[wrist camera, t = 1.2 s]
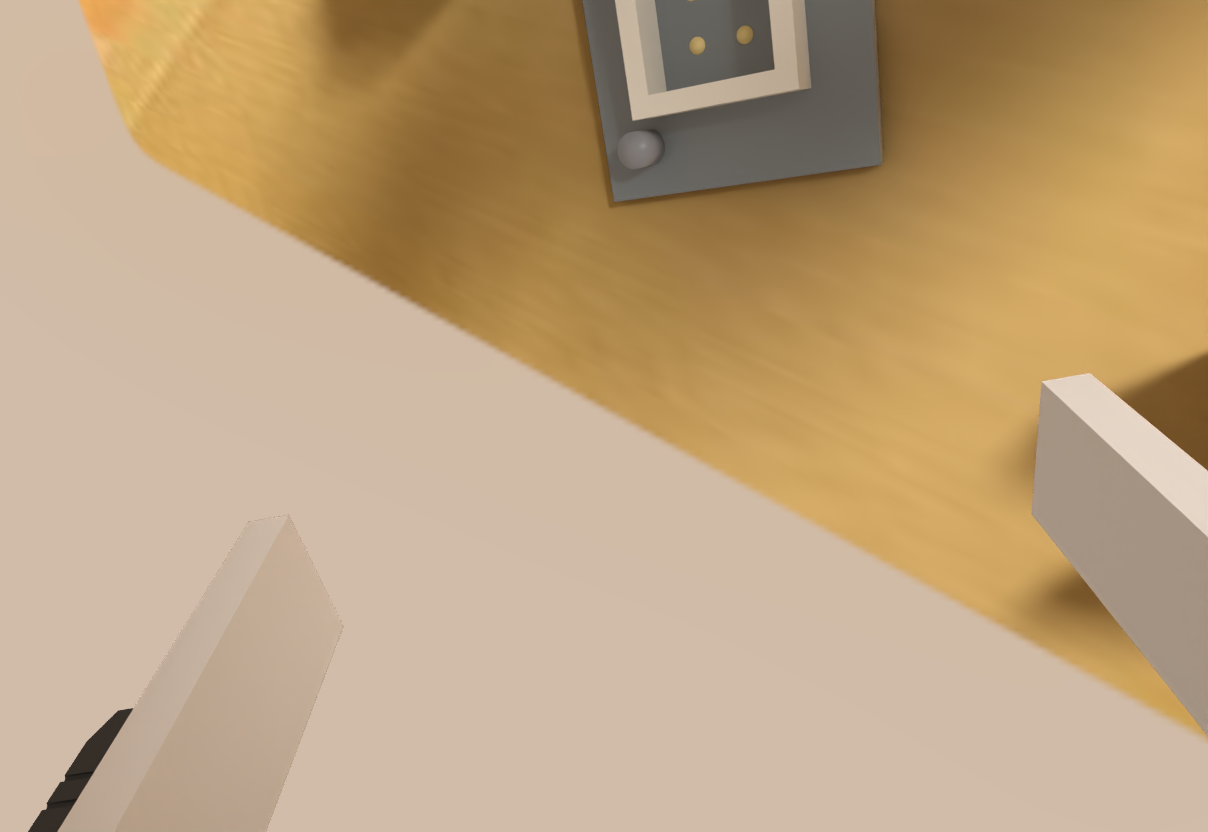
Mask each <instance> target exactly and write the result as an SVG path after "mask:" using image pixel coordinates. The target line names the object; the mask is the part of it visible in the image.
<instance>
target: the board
mask: <svg viewBox="0 0 1208 832" xmlns="http://www.w3.org/2000/svg"><path fill="white" fill-rule="evenodd" d="M582 1H583V8H584V14H585V20H586V27H587V33H588V39H589V46H590V52H591V58H592V65H593V71H594V77H595V84H596V90H597V96H598V103H599V109H600V116H601V122H602V128H603V135H604V141H605V147H606V154H607V160H608V166H609V173H610V179H611V185H612V192H613V198H614V202H618V201H625V200H633V199H640V198H647V197H654V196H661V195H668V194H676V193H683V192H690V191H697V190H704V189H711V188H719V187H726V186H733V185H740V184H747V183H754V182H762V181H769V180H776V179H783V178H790V177H797V176H804V175H812V174H819V173H826V172H833V171H840V170H847V169H855V168H862V167H869V166H876V165H881V164H883V163H884V159H883V140H882V122H881V103H880V84H879V66H878V47H877V28H876V9H875V0H582Z"/></svg>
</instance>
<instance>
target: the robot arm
mask: <svg viewBox="0 0 1208 832" xmlns="http://www.w3.org/2000/svg"><path fill="white" fill-rule="evenodd" d="M1032 515H1033V517H1034V518H1035V519H1036V520H1037V522H1038V523H1039V524H1040V525H1041V527H1042V528H1043V529H1044V530H1045V532H1046V533H1047V534H1048V535H1049V537H1050V538H1051V539H1052V541H1053V542H1054V543H1055V544H1056V546H1057V547H1058V548H1059V549H1060V551H1061V552H1062V553H1063V554H1064V556H1065V557H1066V558H1067V559H1068V561H1069V562H1070V563H1071V564H1072V566H1073V567H1074V568H1075V570H1076V571H1077V572H1078V573H1079V575H1080V576H1081V577H1082V578H1083V580H1084V581H1085V582H1086V583H1087V585H1088V586H1089V587H1090V588H1091V590H1092V591H1093V592H1094V593H1095V595H1096V596H1097V597H1098V598H1099V600H1100V601H1101V602H1102V604H1103V605H1104V606H1105V607H1106V609H1107V610H1108V611H1109V612H1110V614H1111V615H1112V616H1113V617H1114V619H1115V620H1116V621H1117V622H1118V624H1119V625H1120V626H1121V627H1122V629H1123V630H1124V631H1125V633H1126V634H1127V635H1128V636H1129V638H1130V639H1131V640H1132V641H1133V643H1134V644H1135V645H1136V646H1137V648H1138V649H1139V650H1140V651H1141V653H1142V654H1143V655H1144V656H1145V658H1146V659H1147V660H1148V661H1149V663H1150V664H1151V665H1152V667H1153V668H1154V669H1155V670H1156V672H1157V673H1158V674H1159V675H1160V677H1161V678H1162V679H1163V680H1164V682H1165V683H1166V684H1167V685H1168V687H1169V688H1170V689H1171V690H1172V692H1173V693H1174V694H1175V695H1176V697H1177V698H1178V699H1179V701H1180V702H1181V703H1182V704H1183V706H1184V707H1185V708H1186V709H1187V711H1188V712H1189V713H1190V714H1191V716H1192V717H1193V718H1194V719H1195V721H1196V722H1197V723H1198V724H1199V726H1200V727H1201V728H1202V730H1203V731H1204V732H1205V733H1206V735H1207V736H1208V471H1207V470H1206V469H1205V468H1204V467H1202V466H1201V465H1200V464H1199V463H1198V462H1196V461H1195V460H1194V459H1193V458H1192V457H1190V456H1189V455H1188V454H1187V453H1186V452H1184V451H1183V450H1182V449H1181V448H1180V447H1178V446H1177V445H1176V444H1175V443H1173V442H1172V441H1171V440H1170V439H1169V438H1167V437H1166V436H1165V435H1164V434H1163V433H1161V432H1160V431H1159V430H1158V429H1157V428H1155V427H1154V426H1153V425H1152V424H1151V423H1149V422H1148V421H1147V420H1146V419H1144V418H1143V417H1142V416H1141V415H1140V414H1138V413H1137V412H1136V411H1135V410H1134V409H1132V408H1131V407H1130V406H1129V405H1128V404H1126V403H1125V402H1124V401H1123V400H1122V399H1120V398H1119V397H1118V396H1117V395H1116V394H1114V393H1113V392H1112V391H1111V390H1109V389H1108V388H1107V387H1106V386H1105V385H1103V384H1102V383H1101V382H1100V381H1099V380H1097V379H1096V378H1095V377H1094V376H1093V375H1091V374H1090V373H1087V374H1082V375H1076V376H1070V377H1065V378H1059V379H1053V380H1048V381H1042V384H1041V397H1040V410H1039V423H1038V436H1037V449H1036V462H1035V476H1034V489H1033V502H1032ZM342 629H343V624H342V622H341V620H340V618H339V616H338V614H337V612H336V610H335V608H334V606H333V604H332V602H331V600H330V598H329V595H328V593H327V592H326V589H325V587H324V585H323V583H322V581H321V579H320V577H319V575H318V573H317V571H316V569H315V567H314V565H313V563H312V561H311V559H310V557H309V555H308V553H307V551H306V549H305V547H304V545H303V543H302V540H301V538H300V536H299V534H298V532H297V530H296V528H295V526H294V524H293V522H292V520H291V518H290V516H289V515H284V516H278V517H273V518H267V519H261V520H256V521H250V522H248V524H247V525H246V527H245V528H244V530H243V532H242V533H241V535H240V537H239V538H238V540H237V541H236V543H235V545H234V546H233V548H232V549H231V551H230V553H229V554H228V556H227V558H226V559H225V561H224V562H223V564H222V566H221V567H220V569H219V571H218V572H217V574H216V576H215V577H214V579H213V580H212V582H211V584H210V585H209V587H208V588H207V590H206V592H205V593H204V595H203V597H202V598H201V600H200V601H199V603H198V605H197V606H196V608H195V610H194V611H193V613H192V614H191V616H190V618H189V619H188V621H187V622H186V624H185V626H184V627H183V629H182V631H181V632H180V634H179V636H178V637H177V639H176V640H175V642H174V644H173V645H172V647H171V649H170V650H169V652H168V654H167V655H166V657H165V658H164V660H163V661H162V663H161V665H160V666H159V668H158V670H157V671H156V673H155V674H154V676H153V678H152V679H151V681H150V683H149V684H148V686H147V688H146V689H145V691H144V692H143V694H142V696H141V697H140V699H139V700H138V702H137V704H136V705H135V707H134V708H132V709H126V710H120V711H117V712H116V713H115V714H114V715H113V717H111V718H110V719H109V720H108V721H107V722H106V723H105V724H104V725H103V726H102V727H101V728H100V729H99V730H98V731H97V732H96V733H95V734H94V735H93V736H92V737H91V738H90V739H89V740H88V741H87V742H86V744H85V745H84V747H83V748H82V750H81V751H80V753H79V754H78V756H77V757H76V759H75V760H74V762H73V763H72V765H71V767H70V768H69V770H68V771H67V773H66V774H65V781H64V782H60V783H59V785H58V787H57V788H56V790H55V791H54V793H53V794H52V796H51V797H50V799H49V800H48V802H47V809H46V810H42V811H41V813H40V814H39V816H38V817H37V819H36V820H35V822H34V823H33V825H32V827H31V828H30V830H29V831H28V832H266V831H267V828H268V825H269V822H270V820H271V817H272V815H273V812H274V809H275V807H276V804H277V801H278V799H279V796H280V793H281V791H282V788H283V785H284V783H285V780H286V778H287V775H288V772H289V769H290V767H291V764H292V761H293V759H294V756H295V754H296V751H297V748H298V745H299V743H300V740H301V738H302V735H303V732H304V730H305V727H306V724H307V722H308V719H309V716H310V714H311V711H312V709H313V706H314V703H315V701H316V698H317V695H318V693H319V690H320V687H321V684H322V682H323V679H324V676H325V674H326V671H327V669H328V666H329V663H330V661H331V658H332V655H333V653H334V650H335V647H336V645H337V642H338V639H339V637H340V634H341V631H342Z"/></svg>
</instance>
